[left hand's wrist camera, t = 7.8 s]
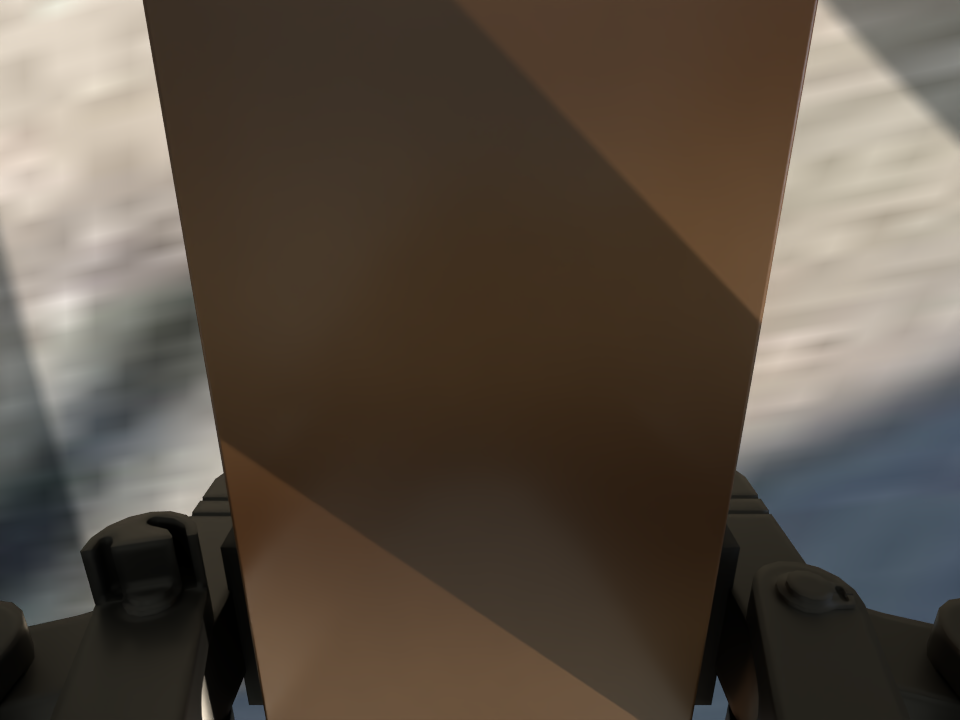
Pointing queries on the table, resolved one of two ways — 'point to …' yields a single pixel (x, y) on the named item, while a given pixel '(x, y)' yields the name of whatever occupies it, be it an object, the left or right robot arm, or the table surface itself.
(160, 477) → the table surface
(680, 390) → the bar
